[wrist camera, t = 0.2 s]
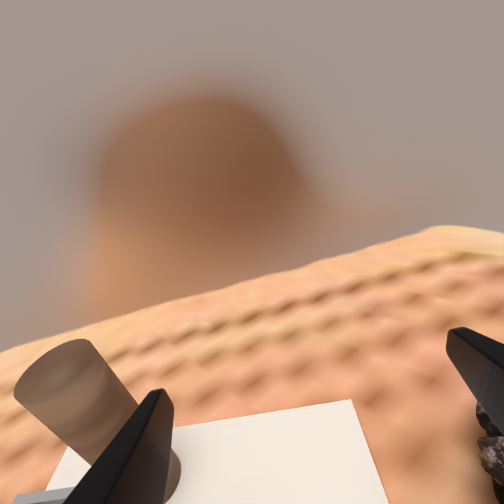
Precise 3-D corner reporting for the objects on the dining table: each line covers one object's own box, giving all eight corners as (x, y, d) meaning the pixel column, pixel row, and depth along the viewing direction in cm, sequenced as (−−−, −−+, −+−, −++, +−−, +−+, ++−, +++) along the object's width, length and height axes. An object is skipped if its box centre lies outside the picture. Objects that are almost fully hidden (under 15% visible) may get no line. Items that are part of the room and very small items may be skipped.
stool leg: (175, 508, 18) (66, 395, 12) (125, 514, 18) (-6, 408, 12) (185, 447, 21) (104, 333, 15) (143, 454, 21) (46, 345, 15)
